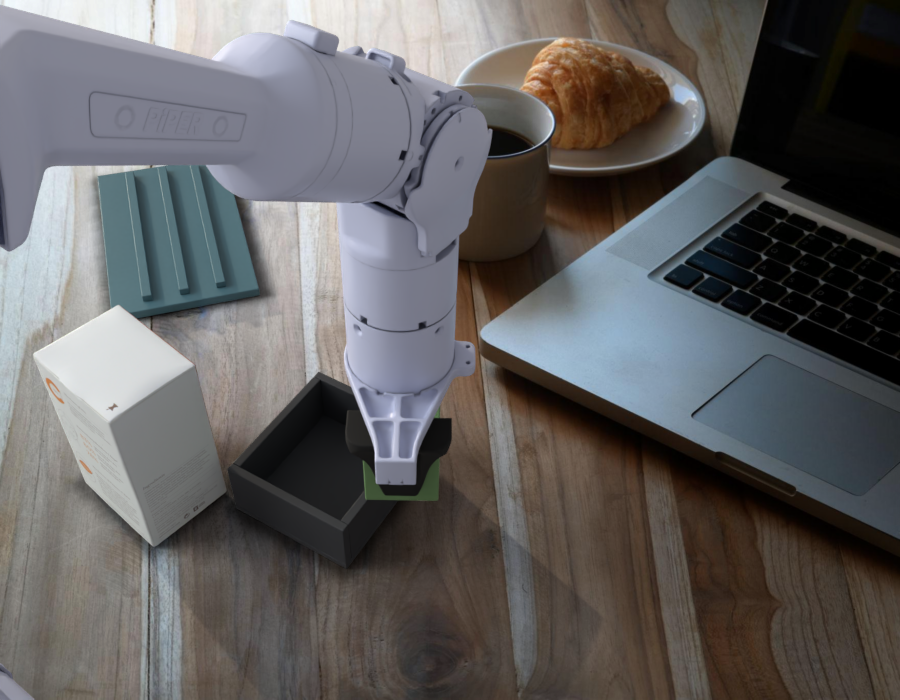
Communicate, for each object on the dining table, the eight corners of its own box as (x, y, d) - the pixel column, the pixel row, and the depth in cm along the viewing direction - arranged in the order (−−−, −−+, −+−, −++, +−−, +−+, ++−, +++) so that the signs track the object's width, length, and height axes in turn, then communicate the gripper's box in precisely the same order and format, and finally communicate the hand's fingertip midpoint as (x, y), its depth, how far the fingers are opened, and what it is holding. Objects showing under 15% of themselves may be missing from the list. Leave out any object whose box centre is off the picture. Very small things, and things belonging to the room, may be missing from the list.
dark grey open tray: (346, 569, 61) (342, 531, 58) (235, 508, 64) (226, 469, 61) (427, 462, 67) (427, 422, 64) (322, 411, 70) (318, 371, 67)
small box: (229, 492, 65) (198, 364, 56) (153, 550, 61) (107, 425, 52) (158, 430, 68) (118, 301, 59) (83, 482, 65) (27, 354, 56)
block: (365, 500, 56) (362, 455, 53) (369, 442, 59) (367, 397, 56) (438, 501, 56) (439, 457, 53) (438, 443, 59) (440, 398, 56)
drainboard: (260, 295, 79) (258, 283, 78) (113, 323, 76) (109, 310, 75) (225, 163, 92) (223, 151, 91) (99, 182, 89) (95, 170, 88)
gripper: (483, 404, 42) (469, 563, 52) (476, 206, 52) (466, 371, 62) (325, 401, 42) (342, 561, 51) (349, 203, 52) (360, 369, 62)
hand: (402, 457), depth 57 cm, fingers closed on block, 4 cm apart
